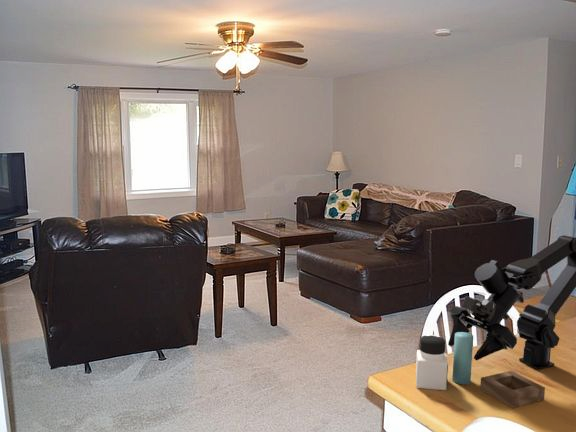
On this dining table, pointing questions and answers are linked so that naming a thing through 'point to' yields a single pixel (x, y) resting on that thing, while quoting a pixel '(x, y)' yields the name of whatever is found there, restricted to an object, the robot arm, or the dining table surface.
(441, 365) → the medicine bottle
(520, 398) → the hole block
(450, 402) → the dining table surface
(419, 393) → the dining table surface
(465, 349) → the peg
